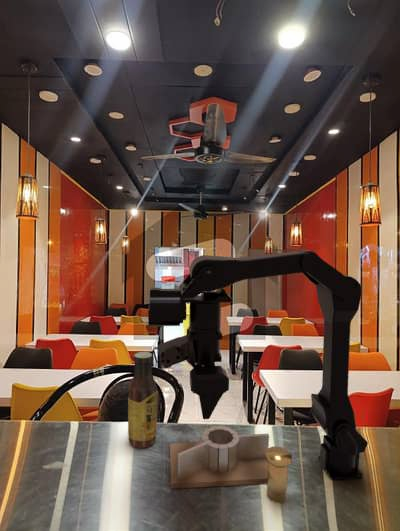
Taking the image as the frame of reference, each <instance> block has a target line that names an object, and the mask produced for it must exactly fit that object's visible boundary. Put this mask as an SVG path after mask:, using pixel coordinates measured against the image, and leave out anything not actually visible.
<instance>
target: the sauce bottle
mask: <svg viewBox="0 0 400 531" xmlns="http://www.w3.org/2000/svg"><path fill="white" fill-rule="evenodd" d="M153 360H154V359H153V354H152V353H151V352H148V351H139V352H136V353H134V354H133V363H134V372H133V374H134V375H133V377H132V378H131V380H130V382H129V384H128V385H129V386H128V397H127V398H128V399H127V402H128V405H127V406H128V407H127V415H128V416H127V420H128V421H127V422H128V423H127V424H128V425H127V430H128V431H127V434H128V442H129V444H130V445H131V446H132V447H134V448H138V449H139V448H140V449H143V448H147V447H150V446H151V445H154V443H155V442H156V438H157V431H158V430H157V424H158V421H157V420H158V416H157V415H158V414H157V413H158V387H157V385H156V381H155V379H154V378H155V377H154V376H153V371H152V370H153V369H152V368H153V367H152V364H153V363H152V362H153Z"/></svg>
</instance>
